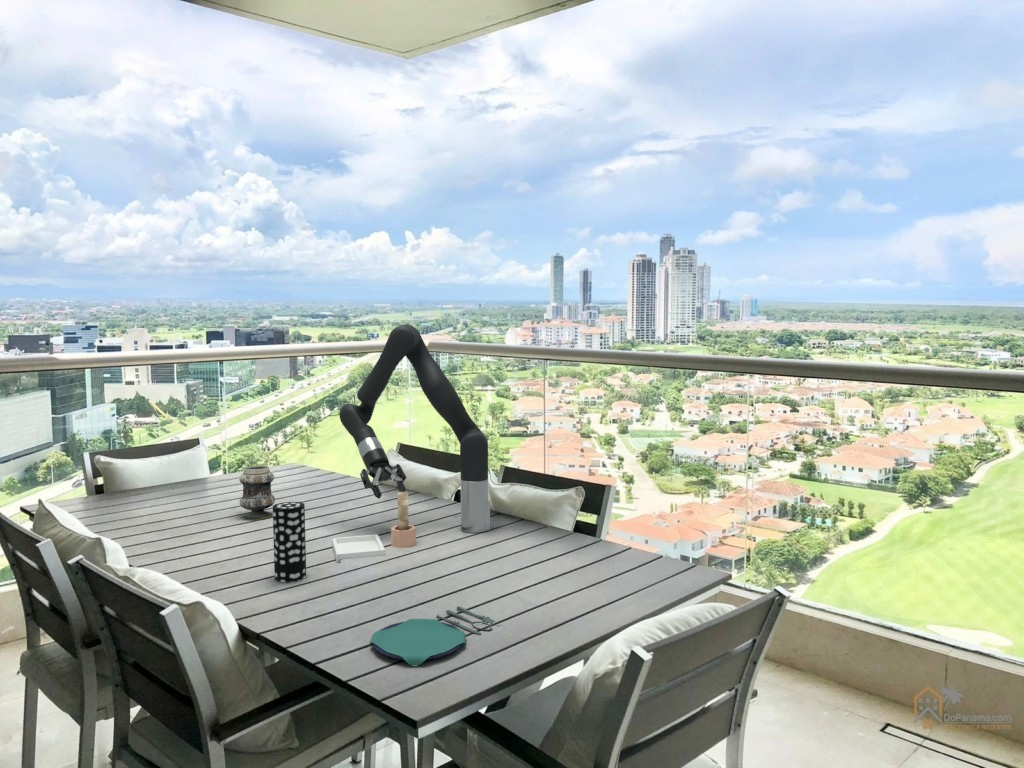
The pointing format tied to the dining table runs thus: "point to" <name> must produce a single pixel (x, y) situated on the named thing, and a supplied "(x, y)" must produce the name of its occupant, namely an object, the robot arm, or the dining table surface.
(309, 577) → the dining table surface
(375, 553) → the tray
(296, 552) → the spotted tube
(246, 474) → the apothecary jar
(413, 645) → the cutlery set
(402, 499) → the wooden pin
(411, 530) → the holder cup
